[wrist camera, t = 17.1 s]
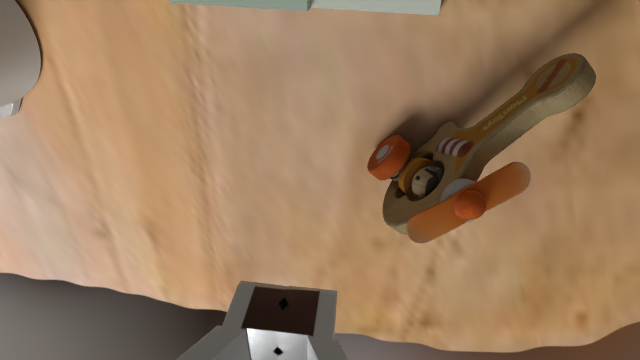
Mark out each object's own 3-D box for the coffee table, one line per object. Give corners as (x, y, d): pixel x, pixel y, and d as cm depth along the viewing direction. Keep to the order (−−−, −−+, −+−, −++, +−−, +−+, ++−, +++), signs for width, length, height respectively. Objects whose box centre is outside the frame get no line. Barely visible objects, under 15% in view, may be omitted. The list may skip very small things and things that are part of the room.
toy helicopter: (359, 160, 42) (352, 244, 31) (527, 8, 32) (608, 49, 21) (410, 202, 44) (421, 295, 33) (582, 72, 34) (684, 142, 23)
